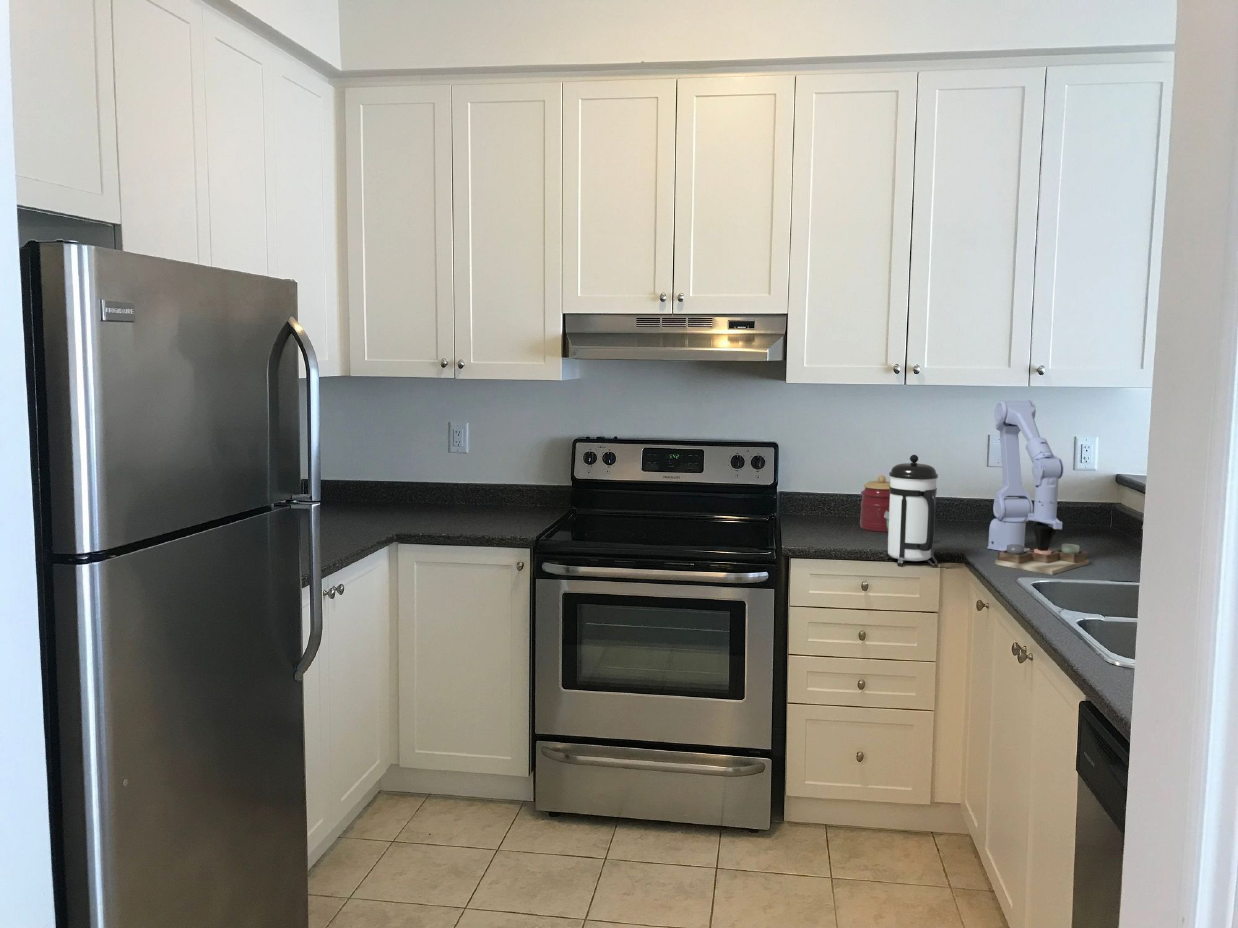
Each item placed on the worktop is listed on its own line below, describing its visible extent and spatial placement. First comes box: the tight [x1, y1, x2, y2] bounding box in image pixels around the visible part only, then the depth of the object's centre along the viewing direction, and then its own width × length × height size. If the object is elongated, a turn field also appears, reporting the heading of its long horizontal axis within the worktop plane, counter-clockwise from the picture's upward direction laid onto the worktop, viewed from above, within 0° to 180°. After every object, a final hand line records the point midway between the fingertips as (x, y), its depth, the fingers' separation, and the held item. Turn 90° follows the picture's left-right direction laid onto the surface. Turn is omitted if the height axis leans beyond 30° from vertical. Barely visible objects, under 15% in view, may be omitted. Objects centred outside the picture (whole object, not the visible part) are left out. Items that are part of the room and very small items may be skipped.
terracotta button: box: [1033, 548, 1053, 555], centre depth 266 cm, size 4×4×3 cm
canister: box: [859, 475, 890, 533], centre depth 318 cm, size 13×13×18 cm
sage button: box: [1060, 543, 1080, 554], centre depth 267 cm, size 4×4×3 cm
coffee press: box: [883, 454, 939, 568], centre depth 265 cm, size 17×16×30 cm
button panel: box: [994, 548, 1090, 576], centre depth 266 cm, size 16×21×3 cm
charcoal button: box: [1007, 544, 1025, 555], centre depth 266 cm, size 4×4×3 cm
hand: (1042, 550), depth 266 cm, fingers closed, pressing on terracotta button
